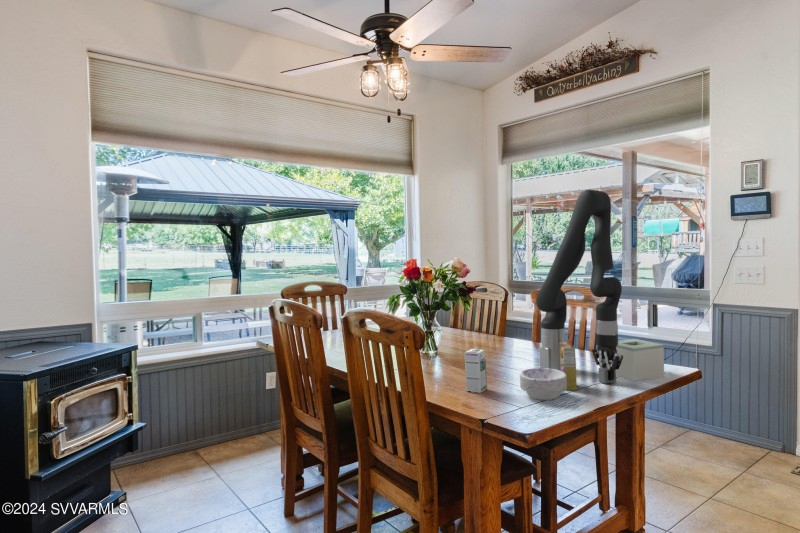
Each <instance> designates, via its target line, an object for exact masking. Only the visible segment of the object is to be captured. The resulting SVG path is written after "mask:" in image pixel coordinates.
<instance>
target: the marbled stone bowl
mask: <svg viewBox="0 0 800 533" xmlns="http://www.w3.org/2000/svg"><path fill="white" fill-rule="evenodd" d="M519 388H520V389H521V390H522V391H525V393H526V394H527V396H529V397H530V398H532V399H533V400H538V401H551V400H552V401H553V400H555V399H558V398H559V397H560V396H561V394H562V393H563V392H565V391H567V390H566V389H567V378H566V374H565V373H564V372H562V371H560V370H556V369H550V368H540V367H533V368H527V369H523V370H522V371H521V372H519Z"/></svg>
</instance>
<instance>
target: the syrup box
mask: <svg viewBox="0 0 800 533" xmlns="http://www.w3.org/2000/svg"><path fill="white" fill-rule="evenodd" d="M486 360H487V359H486V350H485V349H481V348H470V349H468V350H467V351H465V352H464V366H465V369H464V370H465V371H464V372H465V384H466V385H465V388H466V392H468V391H471V392H470V393H474V392H478V393H477V394H482V393H483V392H484V391H485V390H486V391H487V389H488V384H487V383H488V382H487V364H486ZM481 392H482V393H481Z"/></svg>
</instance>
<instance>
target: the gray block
mask: <svg viewBox="0 0 800 533" xmlns="http://www.w3.org/2000/svg"><path fill="white" fill-rule="evenodd" d="M598 382H599V383H602V384H605V385H606V384H611V383H616V382H617V376H616V370H614V380H612V381H609V380H608V368H607V367H603V368H600V367H598Z"/></svg>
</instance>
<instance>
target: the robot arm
mask: <svg viewBox="0 0 800 533" xmlns="http://www.w3.org/2000/svg"><path fill="white" fill-rule="evenodd" d="M572 210H573V211H572V213H571V218H570V221H569V224H568V226H567V227H566V231H565V234H564V236H563V238H562V241H561V243H560V245H559V247H558V249H557V252H556V254H555V258H554V259H553V262H552V265H551V267H550V269H549V271H548V274H547V276H546V278H545V280H544V281H543V283H542V285H541V287H540V289H539V290H538V293H537V295H536V298H535V302H536V303H535V304H536V307H537V309H539V310H540V311H541V312H543V313H545V316H544V317H543V319H542V320H540V338H541V339H540V340H541V341H540V342H541V343H540V344H541V345H539V346H538V348H539V368H550V369H556V370H560V371H561V368H560V349H559V343H565V342H566V331H565V324H566V322H567V312H568V311H567V307H568V305H567V304H568V301H567V296H566V294H565V293H566V292H564V291H563V290H562V287H563V286H564V284H565V282H566V281H567V280H568V279H569V277H571V275H572V274H573V273H575V271H576V269H578V267H579V265H580V263H581V261H582V259H583V256H584V254H585V252H586V245H587V244H586V243H587V242H586V229H587V226H588V224H589V222H590V219H591V217H593V220H594V221H593V222H594V232H593V233H594V234H593V236H592V240H591V244H590V256H591V257H590V258H591V264H592V269H591V277H590V284H589V289H590V292H591V294H592V295H593V296H594V297H596V298H605V300H604V301H603V302H600V303H598V304H597V305H596V306H595V320H596V321H595V344H596V345H597V348H593V349H592V350H591V353H592V355H593V359H594V362H595V365H596V366H599V367H598V368H603V367H607V368H608V380H609V381H612V380H614V370H617V369H619V367H620V365H621V362H622V359H623V356H622V355H619V354H618V353H617V349H616V347H617V345H618V341H619V325H618V306H619V302H620V298H621V295H622V292H623V290H622V289H623V286H622V283H621V281H620V279H619V278H618V277H616V276H615V277H614V276H610V277H609V276H608V277H605V276H604V275H605V272H607V271H608V272H609V271H610V270H612V269H614V258H613V251H612V245H611V244H612V243H611V216H612V215H611V214H612V202H611V198H610V195H609V194H608V193H607V192H605V191H602V190H597V189H596V190H594V189H585V190H583V191H582V192H580V194H579V195H578V197H577V198H576V201H575V204H574V208H573V209H572ZM611 360H612V361H611ZM611 364H612V367H611Z"/></svg>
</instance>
